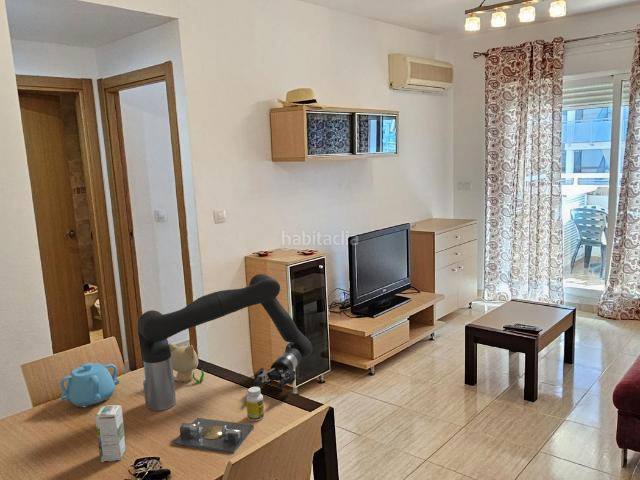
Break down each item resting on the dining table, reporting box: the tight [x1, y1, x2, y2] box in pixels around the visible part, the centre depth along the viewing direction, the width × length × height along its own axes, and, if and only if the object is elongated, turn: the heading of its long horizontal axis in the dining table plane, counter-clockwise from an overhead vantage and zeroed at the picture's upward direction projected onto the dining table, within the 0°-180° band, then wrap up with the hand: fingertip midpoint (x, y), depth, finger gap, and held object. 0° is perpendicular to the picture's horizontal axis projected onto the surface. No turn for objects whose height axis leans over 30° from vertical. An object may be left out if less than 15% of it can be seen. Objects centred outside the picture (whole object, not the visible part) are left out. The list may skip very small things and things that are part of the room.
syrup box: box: [94, 404, 127, 462], centre depth 147 cm, size 6×6×14 cm
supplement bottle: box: [245, 386, 265, 422], centre depth 165 cm, size 5×5×10 cm
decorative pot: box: [59, 362, 120, 407], centre depth 183 cm, size 16×16×14 cm
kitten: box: [168, 342, 205, 384], centre depth 195 cm, size 15×10×15 cm
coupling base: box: [172, 417, 255, 454], centre depth 156 cm, size 20×14×5 cm
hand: (267, 385), depth 175 cm, fingers open, 8 cm apart
